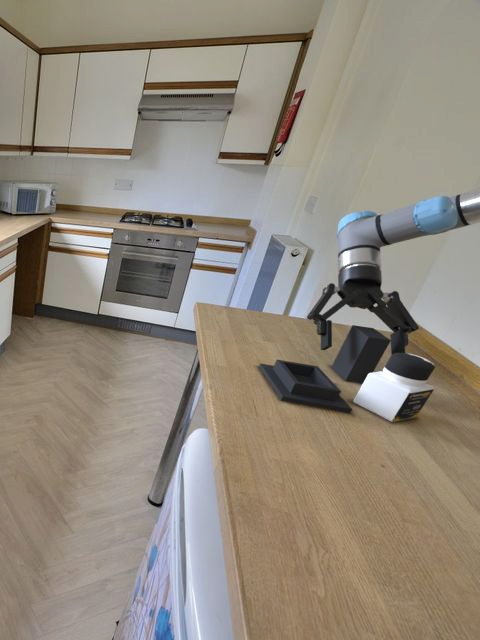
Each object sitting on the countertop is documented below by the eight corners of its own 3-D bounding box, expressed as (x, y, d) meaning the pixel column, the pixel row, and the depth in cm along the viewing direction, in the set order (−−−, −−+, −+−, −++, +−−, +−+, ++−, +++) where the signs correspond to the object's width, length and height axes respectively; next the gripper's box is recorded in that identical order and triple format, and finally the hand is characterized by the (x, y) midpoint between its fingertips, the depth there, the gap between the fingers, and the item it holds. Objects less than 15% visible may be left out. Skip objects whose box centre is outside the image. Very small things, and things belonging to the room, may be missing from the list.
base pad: (317, 377, 94) (324, 363, 92) (350, 413, 81) (358, 398, 79) (258, 366, 97) (263, 353, 95) (280, 400, 84) (287, 386, 82)
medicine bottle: (392, 422, 78) (425, 368, 73) (351, 402, 85) (380, 350, 79) (416, 418, 80) (451, 365, 75) (375, 397, 86) (404, 347, 81)
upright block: (350, 369, 98) (373, 327, 93) (366, 384, 92) (391, 340, 87) (331, 366, 99) (352, 325, 94) (345, 380, 93) (368, 337, 88)
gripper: (410, 286, 98) (416, 369, 92) (290, 272, 105) (289, 349, 99) (437, 270, 92) (445, 359, 85) (307, 256, 98) (306, 338, 92)
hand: (361, 353), depth 92 cm, fingers open, 13 cm apart
